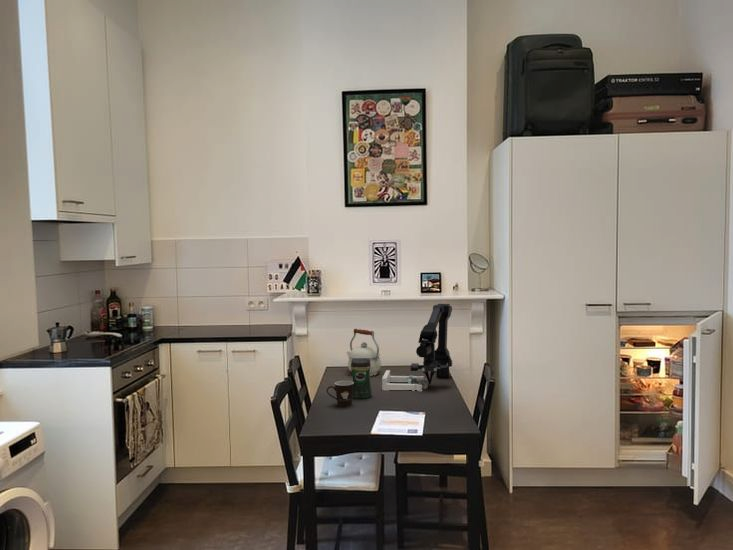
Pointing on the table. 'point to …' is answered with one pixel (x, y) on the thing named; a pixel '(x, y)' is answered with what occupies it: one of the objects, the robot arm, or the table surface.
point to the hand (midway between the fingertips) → (429, 384)
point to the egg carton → (420, 382)
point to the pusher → (410, 379)
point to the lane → (388, 386)
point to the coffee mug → (343, 392)
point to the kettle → (365, 352)
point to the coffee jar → (361, 377)
